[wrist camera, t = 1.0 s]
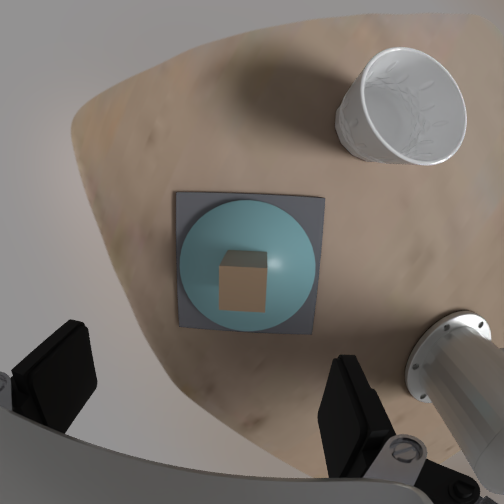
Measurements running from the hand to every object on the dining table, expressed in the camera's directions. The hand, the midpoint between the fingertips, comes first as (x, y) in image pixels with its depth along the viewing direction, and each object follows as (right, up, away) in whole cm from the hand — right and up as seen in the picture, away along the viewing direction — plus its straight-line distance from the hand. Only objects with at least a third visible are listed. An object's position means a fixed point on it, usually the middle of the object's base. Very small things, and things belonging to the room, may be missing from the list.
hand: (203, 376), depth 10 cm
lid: (+1, +3, +17) cm, 18 cm away
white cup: (+12, +16, +15) cm, 25 cm away
